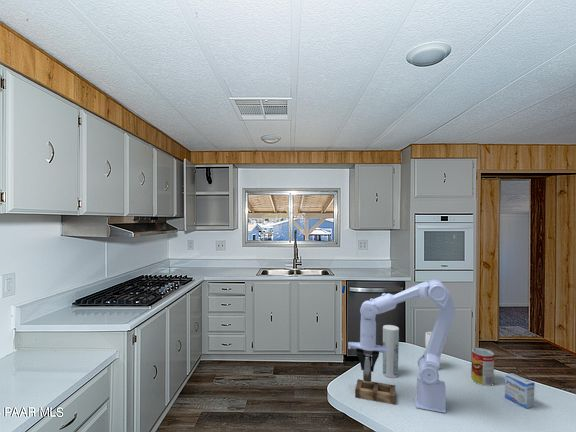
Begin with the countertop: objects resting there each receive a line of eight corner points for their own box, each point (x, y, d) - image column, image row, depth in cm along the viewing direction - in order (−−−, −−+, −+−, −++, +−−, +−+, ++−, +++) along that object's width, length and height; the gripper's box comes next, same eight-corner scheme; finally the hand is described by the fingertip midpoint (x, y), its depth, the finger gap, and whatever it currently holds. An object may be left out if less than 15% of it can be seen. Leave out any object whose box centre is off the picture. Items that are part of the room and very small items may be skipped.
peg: (371, 377, 126) (371, 354, 126) (371, 381, 123) (372, 357, 123) (362, 377, 126) (363, 353, 126) (363, 381, 123) (363, 357, 123)
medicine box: (504, 397, 123) (504, 374, 123) (512, 395, 125) (512, 372, 125) (526, 409, 116) (527, 384, 116) (534, 406, 118) (535, 382, 118)
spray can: (383, 369, 145) (383, 324, 145) (398, 372, 142) (399, 326, 142) (381, 376, 139) (382, 328, 139) (397, 379, 136) (398, 330, 136)
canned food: (481, 375, 141) (481, 347, 141) (498, 384, 133) (498, 354, 133) (466, 377, 138) (467, 349, 138) (483, 387, 131) (483, 356, 131)
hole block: (395, 393, 125) (395, 385, 125) (395, 404, 118) (395, 396, 118) (357, 386, 130) (357, 379, 130) (355, 397, 122) (355, 389, 122)
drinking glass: (427, 363, 152) (427, 330, 152) (443, 367, 148) (443, 333, 148) (422, 368, 147) (423, 334, 147) (439, 373, 142) (439, 338, 142)
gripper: (388, 332, 126) (387, 368, 126) (350, 328, 131) (349, 362, 131) (387, 339, 120) (387, 376, 120) (347, 334, 124) (347, 370, 124)
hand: (367, 369), depth 125 cm, fingers closed on peg, 3 cm apart
